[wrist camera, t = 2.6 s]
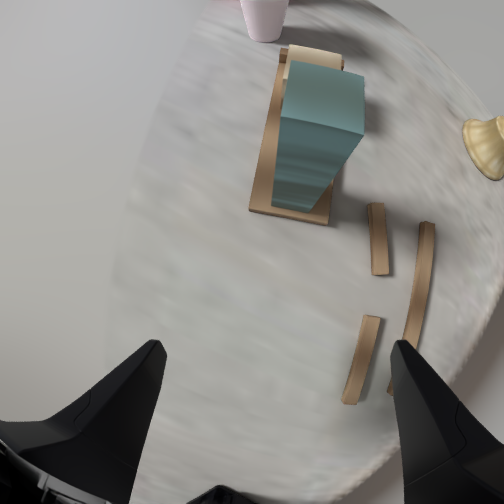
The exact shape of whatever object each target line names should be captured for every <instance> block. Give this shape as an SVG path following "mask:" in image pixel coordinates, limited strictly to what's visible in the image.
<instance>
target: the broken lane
mask: <svg viewBox="0 0 504 504" xmlns="http://www.w3.org/2000/svg"><path fill="white" fill-rule="evenodd" d="M367 207H368V218H369V230H370V245H371V268H372V275H381V274H389V266H388V245H387V231H386V219H385V209H384V203H370V204H369V205H367ZM434 235H435V224H433V223H430V222H427V221H424V222H421V223H420V230H419V242H418V252H417V261H416V269H415V276H414V283H413V289H412V295H411V301H410V306H409V311H408V316H407V321H406V325H405V330H404V334H403V338H402V340H403V339H406V340H407V341H408V342H409V343H410V344H411V345H412V346H413V347H414V348H415V349H416V347H417V343H418V339H419V335H420V330H421V326H422V321H423V317H424V312H425V306H426V301H427V295H428V289H429V282H430V275H431V267H432V259H433V248H434ZM379 323H380V318H379V317H376V316H369V315H364V316H363V321H362V326H361V330H360V334H359V338H358V343H357V347H356V351H355V354H354V358H353V362H352V366H351V369H350V373H349V376H348V380H347V383H346V386H345V389H344V393H343V396H342V399H341V400H342V402H343V403H344V404H349V405H357V402H358V399H359V396H360V393H361V390H362V387H363V383H364V380H365V377H366V373H367V370H368V367H369V363H370V359H371V356H372V352H373V348H374V344H375V340H376V336H377V332H378V327H379ZM387 392H388V393H389V394H390V395H391V396H393V386H392V378H391V381H390V384H389V387H388V390H387Z"/></svg>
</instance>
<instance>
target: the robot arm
mask: <svg viewBox="0 0 504 504" xmlns="http://www.w3.org/2000/svg"><path fill="white" fill-rule="evenodd" d="M166 360H167V353H166V351H165V349H164V347H163V345H162V343H161V342H160V341H159V340H153V339H151V340H149V341H147V342H146V343H145V344H144V345H143V346H141V347H140V348H139V349H138V350H137V351H135V352H134V353H133V354H132V355H131V356H129V357H128V358H127V359H126V360H124V361H123V362H122V363H121V364H120V365H118V366H117V367H116V368H115V369H114V370H112V371H111V372H110V373H109V374H108V375H106V376H105V377H104V378H103V379H101V380H100V381H99V382H98V383H97V384H95V385H94V386H93V387H92V388H91V389H89V390H88V391H87V392H86V393H84V394H83V395H82V396H81V397H80V398H78V399H77V400H75V401H74V402H73V403H71V404H70V405H68V406H67V407H65V408H64V409H62V410H61V411H59V412H58V413H56V414H55V415H53V416H52V417H50V418H48V419H46V420H43V421H31V422H5V421H1V420H0V439H1V440H2V441H3V442H4V443H5V444H6V445H5V444H4V443H3V442H1V441H0V504H106V502H107V501H109V502H112V503H115V504H129V501H130V497H131V492H132V488H133V485H134V481H135V477H136V473H137V469H138V465H139V461H140V458H141V454H142V450H143V447H144V443H145V440H146V436H147V433H148V429H149V426H150V422H151V419H152V416H153V412H154V409H155V406H156V403H157V399H158V396H159V393H160V389H161V385H162V380H163V375H164V370H165V365H166ZM390 361H391V372H392V386H393V397H394V403H395V409H396V416H397V422H398V429H399V437H400V445H401V455H402V466H403V479H404V502H405V503H404V504H504V444H502V443H501V442H499V441H498V440H497V439H496V438H495V437H494V436H493V435H492V434H491V433H490V432H489V431H488V430H487V429H486V428H485V427H484V426H483V425H482V424H481V423H480V422H479V421H478V420H477V419H476V418H475V417H474V416H473V415H472V414H471V413H470V412H469V410H468V409H467V408H466V407H465V406H464V405H463V403H462V402H461V401H459V399H458V398H457V396H456V395H455V394H454V393H453V391H452V390H451V389H450V388H449V387H448V385H447V384H446V383H445V382H444V381H443V380H442V379H441V377H440V376H439V375H438V374H437V373H436V372H435V370H434V369H433V368H432V367H431V366H430V365H429V364H428V363H427V361H426V360H425V359H424V358H423V357H422V356H421V355H420V354H419V353H418V351H417V350H416V349H415V348H414V347H413V346H412V345H411V344H410V343H409V342H408V341H407V340H406V339H403V340H397V341H396V342H395V344H394V346H393V349H392V352H391V356H390ZM220 489H221V490H220ZM187 504H256V503H254V502H252V501H250V500H248V499H245V498H243V497H241V496H240V495H238V494H236V493H234V492H232V491H230V490H228V489H226V488H225V487H223V486H220V485H217V486H215V487H213V488H212V489H210V490H209V491H207V492H205V493H204V494H202V495H200V496H198V497H197V498H195V499H193V500H191V501H190V502H188V503H187Z"/></svg>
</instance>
